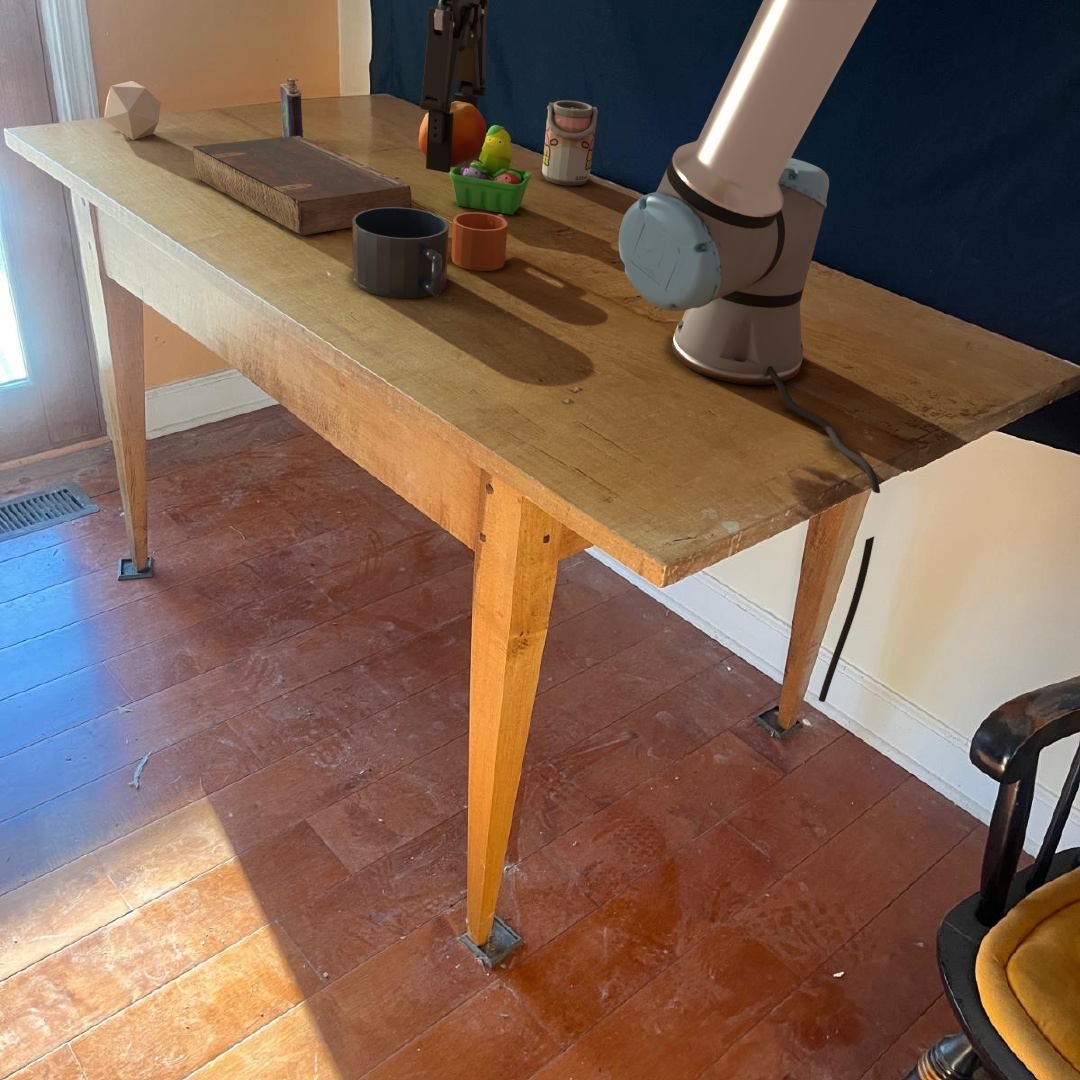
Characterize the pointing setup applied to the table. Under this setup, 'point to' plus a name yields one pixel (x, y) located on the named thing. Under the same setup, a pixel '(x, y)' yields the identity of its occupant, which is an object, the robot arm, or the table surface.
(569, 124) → the white patterned canister
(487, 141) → the fruit basket
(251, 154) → the hardback book
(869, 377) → the table surface
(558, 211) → the table surface
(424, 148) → the fruit
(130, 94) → the die
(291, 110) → the flask
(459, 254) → the small cup
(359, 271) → the big cup
